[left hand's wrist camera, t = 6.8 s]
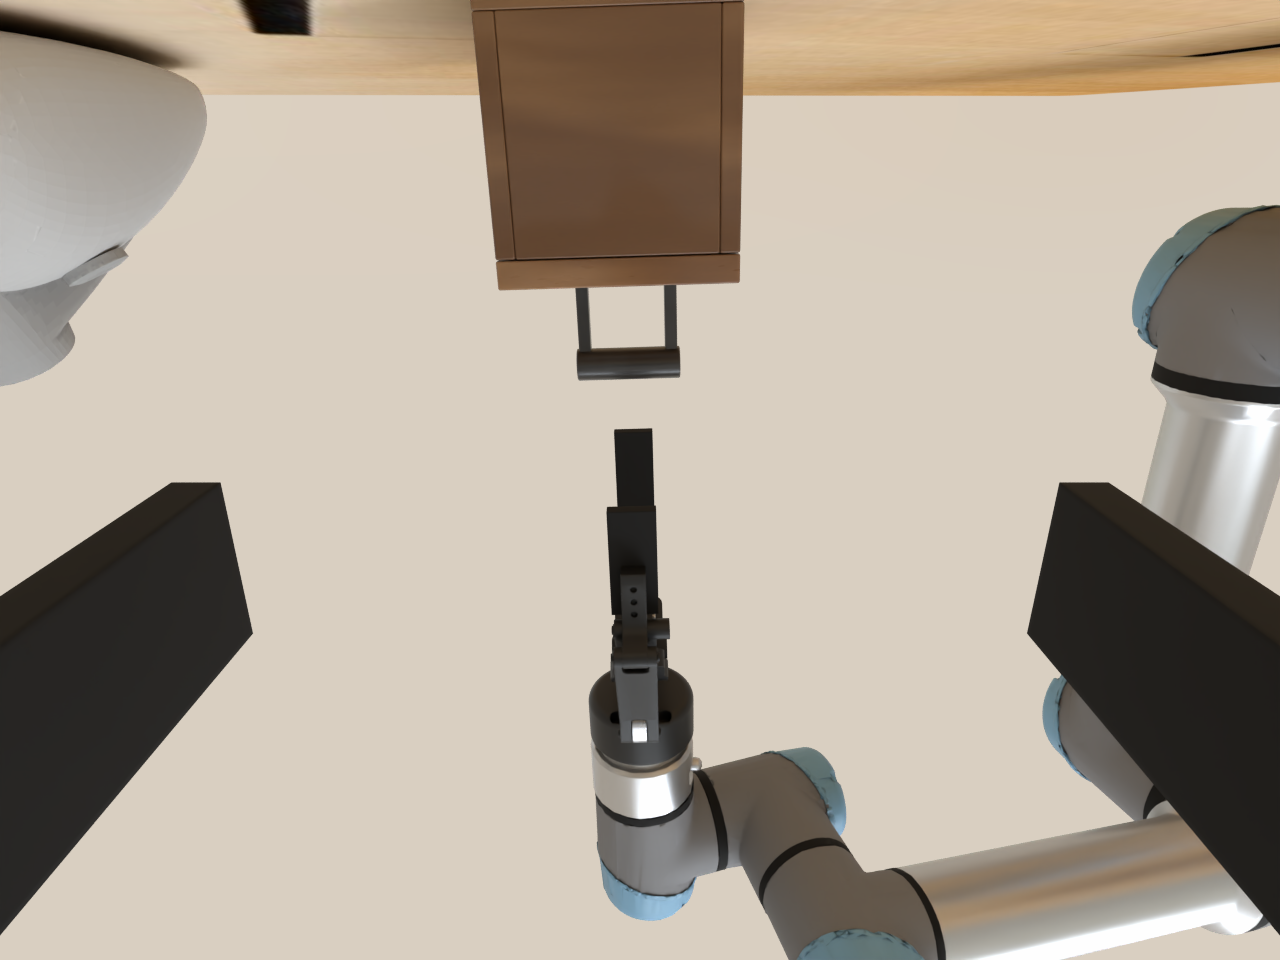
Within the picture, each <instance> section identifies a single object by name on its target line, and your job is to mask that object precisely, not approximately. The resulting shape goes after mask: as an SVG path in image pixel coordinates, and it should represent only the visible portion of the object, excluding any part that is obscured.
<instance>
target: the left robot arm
mask: <svg viewBox="0 0 1280 960" xmlns="http://www.w3.org/2000/svg"><path fill="white" fill-rule="evenodd" d="M252 634H253V632H252V627H251V622H250V618H249V613H248V608H247V604H246V599H245V594H244V590H243V585H242V580H241V576H240V571H239V567H238V562H237V557H236V553H235V548H234V543H233V539H232V534H231V529H230V525H229V520H228V515H227V511H226V506H225V501H224V497H223V492H222V488H221V483H170V484H169V485H167V486H166V487H164V488H163V489H161V490H160V491H158V492H157V493H155V494H154V495H152V496H151V497H149V498H148V499H146V500H144V501H143V502H142V503H140V504H138V505H137V506H136V507H134V508H132V509H131V510H129V511H128V512H126V513H125V514H123V515H122V516H120V517H119V518H117V519H116V520H114V521H113V522H111V523H110V524H108V525H107V526H105V527H104V528H102V529H101V530H99V531H98V532H96V533H95V534H93V535H92V536H90V537H89V538H87V539H86V540H84V541H83V542H81V543H80V544H78V545H77V546H75V547H74V548H72V549H71V550H69V551H68V552H66V553H65V554H63V555H62V556H60V557H59V558H57V559H56V560H54V561H53V562H51V563H50V564H48V565H47V566H45V567H44V568H42V569H41V570H39V571H38V572H36V573H35V574H33V575H32V576H30V577H29V578H27V579H26V580H24V581H23V582H21V583H20V584H18V585H17V586H15V587H13V588H12V589H10V590H9V591H8V592H6V593H4V594H3V595H2V596H0V935H1V934H2V932H3V931H4V930H5V929H6V928H7V926H8V925H9V924H10V923H11V922H12V920H13V919H14V918H15V917H16V916H17V914H18V913H19V912H20V911H21V910H22V909H23V907H24V906H25V905H26V904H27V902H28V901H29V900H30V899H31V898H32V897H33V895H34V894H35V893H36V892H37V891H38V889H39V888H40V887H41V886H42V885H43V883H44V882H45V881H46V880H47V879H48V877H49V876H50V875H51V874H52V873H53V871H54V870H55V869H56V868H57V867H58V866H59V864H60V863H61V862H62V861H63V860H64V858H65V857H66V856H67V855H68V854H69V852H70V851H71V850H72V849H73V848H74V846H75V845H76V844H77V843H78V842H79V840H80V839H81V838H82V837H83V836H84V834H85V833H86V832H87V831H88V830H89V829H90V827H91V826H92V825H93V824H94V822H95V821H96V820H97V819H98V818H99V817H100V815H101V814H102V813H103V812H104V811H105V809H106V808H107V807H108V806H109V805H110V803H111V802H112V801H113V800H114V799H115V797H116V796H117V795H118V794H119V793H120V792H121V790H122V789H123V788H124V787H125V786H126V784H127V783H128V782H129V781H130V780H131V778H132V777H133V776H134V775H135V774H136V772H137V771H138V770H139V769H140V768H141V766H142V765H143V764H144V763H145V762H146V760H147V759H148V758H149V757H150V756H151V755H152V753H153V752H154V751H155V750H156V749H157V747H158V746H159V745H160V744H161V743H162V741H163V740H164V739H165V738H166V737H167V735H168V734H169V733H170V732H171V731H172V729H173V728H174V727H175V726H176V725H177V723H178V722H179V721H180V720H181V719H182V718H183V716H184V715H185V714H186V713H187V712H188V710H189V709H190V708H191V707H192V706H193V704H194V703H195V702H196V701H197V700H198V698H199V697H200V696H201V695H202V694H203V692H204V691H205V690H206V689H207V688H208V686H209V685H210V684H211V683H212V682H213V680H214V679H215V678H216V677H217V676H218V675H219V673H220V672H221V671H222V670H223V669H224V667H225V666H226V665H227V664H228V663H229V661H230V660H231V659H232V658H233V657H234V655H235V654H236V653H237V652H238V651H239V649H240V648H241V647H242V646H243V645H244V643H245V642H246V641H247V640H248V639H249V637H250V636H251V635H252ZM1027 634H1028V635H1029V636H1030V638H1031V639H1032V640H1033V641H1034V642H1035V643H1036V645H1037V646H1038V647H1039V648H1040V649H1041V651H1042V652H1043V653H1044V654H1045V655H1046V657H1047V658H1048V659H1049V660H1050V661H1051V663H1052V664H1053V665H1054V666H1055V667H1056V669H1057V670H1058V671H1059V672H1060V673H1061V675H1062V676H1063V677H1064V678H1065V679H1066V681H1067V682H1068V683H1069V684H1070V685H1071V686H1072V688H1073V689H1074V690H1075V691H1076V692H1077V694H1078V695H1079V696H1080V697H1081V698H1082V700H1083V701H1084V702H1085V703H1086V704H1087V706H1088V707H1089V708H1090V709H1091V710H1092V712H1093V713H1094V714H1095V715H1096V716H1097V718H1098V719H1099V720H1100V721H1101V722H1102V723H1103V725H1104V726H1105V727H1106V728H1107V729H1108V731H1109V732H1110V733H1111V734H1112V735H1113V737H1114V738H1115V739H1116V740H1117V741H1118V743H1119V744H1120V745H1121V746H1122V747H1123V749H1124V750H1125V751H1126V752H1127V753H1128V755H1129V756H1130V757H1131V758H1132V759H1133V760H1134V762H1135V763H1136V764H1137V765H1138V766H1139V768H1140V769H1141V770H1142V771H1143V772H1144V774H1145V775H1146V776H1147V777H1148V778H1149V780H1150V781H1151V782H1152V783H1153V784H1154V786H1155V787H1156V788H1157V789H1158V790H1159V792H1160V793H1161V794H1162V795H1163V796H1164V797H1165V799H1166V800H1167V801H1168V802H1169V803H1170V805H1171V806H1172V807H1173V808H1174V809H1175V811H1176V812H1177V813H1178V814H1179V815H1180V817H1181V818H1182V819H1183V820H1184V821H1185V823H1186V824H1187V825H1188V826H1189V827H1190V829H1191V830H1192V831H1193V832H1194V833H1195V835H1196V836H1197V837H1198V838H1199V839H1200V840H1201V842H1202V843H1203V844H1204V845H1205V846H1206V848H1207V849H1208V850H1209V851H1210V852H1211V854H1212V855H1213V856H1214V857H1215V858H1216V860H1217V861H1218V862H1219V863H1220V864H1221V866H1222V867H1223V868H1224V869H1225V870H1226V872H1227V873H1228V874H1229V875H1230V876H1231V877H1232V879H1233V880H1234V881H1235V882H1236V883H1237V885H1238V886H1239V887H1240V888H1241V889H1242V891H1243V892H1244V893H1245V894H1246V895H1247V897H1248V898H1249V899H1250V900H1251V901H1252V903H1253V904H1254V905H1255V906H1256V907H1257V909H1258V910H1259V911H1260V912H1261V913H1262V914H1263V916H1264V917H1265V918H1266V919H1267V920H1268V922H1269V923H1270V924H1271V925H1272V926H1273V928H1274V929H1275V930H1276V931H1277V932H1278V934H1279V935H1280V596H1279V595H1277V594H1276V593H1274V592H1273V591H1271V590H1269V589H1268V588H1267V587H1265V586H1263V585H1262V584H1261V583H1259V582H1257V581H1256V580H1254V579H1253V578H1251V577H1250V576H1248V575H1247V574H1245V573H1244V572H1242V571H1241V570H1239V569H1238V568H1236V567H1235V566H1233V565H1232V564H1230V563H1229V562H1227V561H1226V560H1224V559H1223V558H1221V557H1220V556H1218V555H1217V554H1215V553H1214V552H1212V551H1211V550H1209V549H1208V548H1206V547H1205V546H1203V545H1202V544H1200V543H1199V542H1197V541H1196V540H1194V539H1193V538H1191V537H1190V536H1188V535H1187V534H1185V533H1184V532H1182V531H1181V530H1179V529H1178V528H1176V527H1175V526H1173V525H1172V524H1170V523H1169V522H1167V521H1166V520H1164V519H1163V518H1161V517H1160V516H1158V515H1157V514H1155V513H1154V512H1152V511H1151V510H1149V509H1148V508H1146V507H1145V506H1143V505H1142V504H1140V503H1139V502H1137V501H1136V500H1134V499H1132V498H1131V497H1130V496H1128V495H1127V494H1125V493H1123V492H1122V491H1120V490H1119V489H1117V488H1116V487H1114V486H1113V485H1111V484H1110V483H1059V487H1058V492H1057V497H1056V501H1055V506H1054V511H1053V515H1052V520H1051V525H1050V529H1049V534H1048V539H1047V543H1046V548H1045V553H1044V557H1043V562H1042V567H1041V571H1040V576H1039V580H1038V585H1037V590H1036V594H1035V599H1034V604H1033V608H1032V613H1031V618H1030V622H1029V627H1028V632H1027Z"/></svg>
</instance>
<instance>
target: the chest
mask: <svg viewBox="0 0 1280 960" xmlns="http://www.w3.org/2000/svg"><path fill="white" fill-rule="evenodd" d="M743 1H744V0H470V2H471V9H472V11H473V12H472V22H473V32H474V42H475V53H476V63H477V73H478V83H479V94H480V104H481V114H482V124H483V135H484V145H485V155H486V165H487V176H488V186H489V196H490V206H491V217H492V227H493V237H494V247H495V258H496V260H514V259H517V260H523V259H555V258H586V257H618V256H649V255H681V254H712V253H719V252H720V253H738V252H740V229H741V172H742V114H743V57H744V2H743Z"/></svg>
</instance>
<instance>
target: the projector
mask: <svg viewBox="0 0 1280 960" xmlns="http://www.w3.org/2000/svg"><path fill="white" fill-rule="evenodd" d="M206 122H207V114H206V106H205V102H204V99H203V96H202V94H201V92H200V90H199V89H198V87H197V86H196V85H195V84H194V83H192V82H191V81H189V80H187V79H186V78H184V77H181V76H179V75H177V74H175V73H173V72H171V71H168V70H166V69H163V68H160V67H158V66H155V65H152V64H149V63H146V62H142V61H139V60H136V59H133V58H130V57H126V56H122V55H119V54H115V53H111V52H107V51H103V50H99V49H94V48H89V47H85V46H80V45H76V44H71V43H67V42H62V41H57V40H51V39H46V38H40V37H34V36H28V35H23V34H17V33H11V32H4V31H0V386H4V385H10V384H15V383H18V382H21V381H25V380H28V379H30V378H33V377H35V376H37V375H40V374H42V373H44V372H46V371H47V370H49V369H51V368H52V367H54V366H55V365H56V364H58V363H59V362H60V361H62V360H63V359H64V358H65V357H66V356H67V355H68V354H69V352H70V351H71V349H72V348H73V346H74V342H75V336H74V333H73V331H72V329H71V326H70V324H69V322H68V321H69V320H70V319H71V317H72V316H73V315H74V314H75V313H76V311H77V310H78V309H79V308H80V307H81V305H82V304H83V303H84V302H85V301H86V299H87V298H88V297H89V296H90V294H91V293H92V292H93V291H94V290H95V288H96V287H97V286H98V284H99V283H100V282H101V280H102V279H103V278H104V276H105V275H106V274H107V272H108V271H110V270H112V269H113V268H115V267H117V266H118V265H120V264H121V263H122V262H123V261H124V260H125V259H126V258H127V257H128V255H127V254H126V252H125V251H124V249H125V248H126V246H127V245H128V244H129V242H130V241H131V239H132V238H133V237H134V236H135V235H136V234H137V233H138V232H139V231H140V230H141V229H143V228H144V227H145V226H146V225H147V224H148V223H149V222H150V221H151V220H152V219H153V218H154V217H155V216H156V215H157V214H158V212H159V211H160V210H161V209H162V208H163V206H164V205H165V204H166V203H167V201H168V200H169V199H170V198H171V197H172V195H173V194H174V192H175V191H176V189H177V188H178V187H179V185H180V184H181V182H182V181H183V179H184V177H185V175H186V174H187V172H188V170H189V169H190V167H191V165H192V163H193V161H194V159H195V157H196V155H197V153H198V150H199V148H200V145H201V143H202V140H203V137H204V134H205V129H206Z"/></svg>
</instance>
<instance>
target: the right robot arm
mask: <svg viewBox="0 0 1280 960" xmlns="http://www.w3.org/2000/svg"><path fill="white" fill-rule="evenodd" d="M1132 318H1133V323H1134V325H1135V326H1136V327H1138V328H1139V329H1138V335H1139V336H1140V337H1141V339H1142V340H1144V341H1145V342H1146V343H1148V344H1149V345H1150V346H1151V347H1152V348H1154V349H1157V353H1156V358H1155V362H1154V366H1153V370H1152V375H1151V381H1152V383H1153V384H1154V385H1155V387H1156V388H1157V389H1158V390H1159V391H1160V393H1161V394H1162V395H1163V396H1164V397H1165V399H1166V402H1167V404H1166V407H1165V411H1164V415H1163V419H1162V423H1161V427H1160V431H1159V435H1158V439H1157V443H1156V447H1155V451H1154V455H1153V459H1152V463H1151V467H1150V471H1149V475H1148V479H1147V483H1146V487H1145V491H1144V495H1143V499H1142V503H1141V504H1142V505H1143V506H1145V507H1146V508H1148V509H1149V510H1151V511H1152V512H1154V513H1155V514H1157V515H1158V516H1160V517H1161V518H1163V519H1164V520H1166V521H1167V522H1169V523H1170V524H1172V525H1173V526H1175V527H1176V528H1178V529H1179V530H1181V531H1182V532H1184V533H1185V534H1187V535H1188V536H1190V537H1191V538H1193V539H1194V540H1196V541H1197V542H1199V543H1200V544H1202V545H1203V546H1205V547H1206V548H1208V549H1209V550H1211V551H1212V552H1214V553H1215V554H1217V555H1218V556H1220V557H1221V558H1223V559H1224V560H1226V561H1227V562H1229V563H1230V564H1232V565H1233V566H1235V567H1236V568H1238V569H1239V570H1241V571H1242V572H1244V573H1245V574H1247V575H1248V576H1249V572H1250V569H1251V566H1252V563H1253V560H1254V557H1255V554H1256V550H1257V547H1258V544H1259V541H1260V538H1261V535H1262V531H1263V528H1264V525H1265V522H1266V519H1267V516H1268V513H1269V510H1270V506H1271V503H1272V500H1273V497H1274V494H1275V491H1276V488H1277V484H1278V481H1279V478H1280V205H1272V206H1264V205H1262V206H1258V207H1254V208H1225V209H1219V210H1215V211H1212V212H1209V213H1206V214H1203V215H1201V216H1199V217H1197V218H1195V219H1193V220H1191V221H1190V222H1188V223H1187V224H1185V225H1184V226H1183V227H1181V228H1180V229H1179V230H1178V231H1177V232H1176V234H1175V235H1174V237H1172V238H1169V239H1167V240H1166V241H1165V242H1164V243H1163V244H1162V245H1161V246H1160V248H1159V249H1158V250H1157V251H1156V253H1155V254H1154V255H1153V257H1152V258H1151V259H1150V261H1149V263H1148V264H1147V266H1146V268H1145V269H1144V271H1143V273H1142V276H1141V278H1140V280H1139V282H1138V285H1137V287H1136V291H1135V295H1134V299H1133V305H1132ZM614 439H615V461H616V483H617V505H618V507H607V530H608V550H609V570H610V589H611V608H612V615H615V620H614V624H613V626H612V635H613V638H612V654H611V670H610V671H609V672H607V673H605V674H604V675H603V676H601V677H600V678H599V679H598V680H597V681H596V682H595V684H594V685H593V687H592V689H591V691H590V695H589V712H590V727H591V736H592V741H591V753H592V768H593V783H594V789H595V795H596V811H597V833H598V842H597V850H598V853H599V857H600V862H601V870H602V877H603V885H604V889H605V891H606V893H607V895H608V897H609V899H610V900H611V902H612V903H613V904H614V905H615V906H616V907H617V908H618V909H619V910H620V911H621V912H623V913H624V914H626V915H628V916H630V917H633V918H635V919H640V920H648V921H654V920H661V919H664V918H667V917H669V916H672V915H673V914H675V912H677V911H678V910H679V909H680V908H681V907H682V906H683V905H684V904H686V903H687V902H688V900H689V899H690V897H691V894H692V891H693V888H694V883H695V880H696V877H697V876H701V875H705V874H709V873H713V872H716V871H720V870H724V869H726V868H731V867H737V866H743V868H744V870H745V872H746V874H747V876H748V878H749V880H750V882H751V884H752V886H753V888H754V890H755V892H756V894H757V896H758V898H759V900H760V902H761V904H762V906H763V908H764V910H765V912H766V913H767V915H768V916H769V919H770V921H771V923H772V925H773V927H774V929H775V931H776V933H777V936H778V938H779V940H780V942H781V944H782V946H783V948H784V951H785V953H786V955H787V957H788V959H789V960H1063V959H1067V958H1071V957H1076V956H1080V955H1084V954H1088V953H1092V952H1096V951H1100V950H1104V949H1108V948H1113V947H1117V946H1121V945H1125V944H1129V943H1133V942H1137V941H1141V940H1145V939H1150V938H1154V937H1158V936H1162V935H1166V934H1170V933H1174V932H1178V931H1182V930H1187V929H1191V928H1195V927H1199V926H1201V927H1203V928H1205V929H1207V930H1209V931H1212V932H1215V933H1219V934H1224V935H1236V934H1241V933H1246V932H1249V931H1254V930H1257V929H1260V928H1264V927H1267V926H1269V925H1271V924H1270V923H1269V922H1268V920H1267V919H1266V918H1265V917H1264V916H1263V914H1262V913H1261V912H1260V911H1259V910H1258V909H1257V907H1256V906H1255V905H1254V904H1253V903H1252V901H1251V900H1250V899H1249V898H1248V897H1247V895H1246V894H1245V893H1244V892H1243V891H1242V889H1241V888H1240V887H1239V886H1238V885H1237V883H1236V882H1235V881H1234V880H1233V879H1232V877H1231V876H1230V875H1229V874H1228V873H1227V872H1226V870H1225V869H1224V868H1223V867H1222V866H1221V864H1220V863H1219V862H1218V861H1217V860H1216V858H1215V857H1214V856H1213V855H1212V854H1211V852H1210V851H1209V850H1208V849H1207V848H1206V846H1205V845H1204V844H1203V843H1202V842H1201V840H1200V839H1199V838H1198V837H1197V836H1196V835H1195V833H1194V832H1193V831H1192V830H1191V829H1190V827H1189V826H1188V825H1187V824H1186V823H1185V821H1184V820H1183V819H1182V818H1181V817H1180V815H1179V814H1178V813H1177V812H1176V811H1175V809H1174V808H1173V807H1172V806H1171V805H1170V803H1169V802H1168V801H1167V800H1166V799H1165V797H1164V796H1163V795H1162V794H1161V793H1160V792H1159V790H1158V789H1157V788H1156V787H1155V786H1154V784H1153V783H1152V782H1151V781H1150V780H1149V778H1148V777H1147V776H1146V775H1145V774H1144V772H1143V771H1142V770H1141V769H1140V768H1139V766H1138V765H1137V764H1136V763H1135V762H1134V760H1133V759H1132V758H1131V757H1130V756H1129V755H1128V753H1127V752H1126V751H1125V750H1124V749H1123V747H1122V746H1121V745H1120V744H1119V743H1118V741H1117V740H1116V739H1115V738H1114V737H1113V735H1112V734H1111V733H1110V732H1109V731H1108V729H1107V728H1106V727H1105V726H1104V725H1103V723H1102V722H1101V721H1100V720H1099V719H1098V718H1097V716H1096V715H1095V714H1094V713H1093V712H1092V710H1091V709H1090V708H1089V707H1088V706H1087V704H1086V703H1085V702H1084V701H1083V700H1082V698H1081V697H1080V696H1079V695H1078V694H1077V692H1076V691H1075V690H1074V689H1073V688H1072V686H1071V685H1070V684H1069V683H1068V682H1067V681H1066V679H1065V678H1064V677H1063V676H1062V675H1061V676H1060V678H1058V679H1057V678H1054V679H1053V681H1052V682H1051V684H1050V686H1049V688H1048V690H1047V693H1046V696H1045V699H1044V704H1043V725H1044V729H1045V732H1046V735H1047V737H1048V739H1049V741H1050V743H1051V744H1052V745H1053V747H1054V748H1055V749H1056V750H1057V751H1058V752H1059V753H1060V754H1061V755H1062V756H1063V757H1064V758H1065V759H1066V761H1067V762H1068V764H1069V765H1070V766H1071V768H1072V769H1073V770H1074V771H1076V772H1077V773H1078V774H1079V775H1080V776H1082V777H1083V778H1085V779H1086V780H1088V781H1090V782H1092V783H1093V784H1094V785H1095V786H1096V787H1098V788H1099V789H1100V790H1101V791H1102V792H1103V793H1104V794H1105V795H1106V796H1108V797H1109V798H1110V799H1111V800H1112V801H1113V802H1114V803H1115V804H1117V805H1118V806H1119V807H1120V808H1121V809H1122V810H1123V811H1124V812H1125V813H1127V814H1128V815H1129V816H1130V817H1131V818H1132V819H1133V820H1134V821H1133V822H1128V823H1123V824H1118V825H1113V826H1108V827H1102V828H1097V829H1092V830H1087V831H1082V832H1077V833H1072V834H1067V835H1062V836H1057V837H1052V838H1047V839H1041V840H1036V841H1031V842H1026V843H1021V844H1016V845H1011V846H1006V847H1001V848H996V849H991V850H985V851H980V852H975V853H970V854H965V855H960V856H955V857H950V858H945V859H940V860H935V861H930V862H924V863H919V864H914V865H909V866H905V867H899V868H891V869H886V870H881V871H875V872H869V873H866V872H864V871H863V870H862V868H861V867H860V865H859V864H858V863H857V861H856V860H855V858H854V857H853V855H852V854H851V852H850V851H849V849H848V848H847V846H846V845H845V843H844V842H843V840H842V838H841V837H840V835H841V834H842V832H843V830H844V828H845V824H846V806H845V800H844V795H843V791H842V788H841V785H840V784H839V783H838V782H837V780H836V777H835V772H834V770H833V768H832V766H831V764H830V763H829V762H828V760H827V759H826V758H825V757H824V756H823V755H822V754H821V753H820V752H818V751H817V750H815V749H812V748H807V747H802V748H796V749H790V750H784V751H777V752H775V751H769V752H764V753H762V754H760V755H757V756H753V757H749V758H745V759H741V760H737V761H733V762H729V763H725V764H721V765H717V766H713V767H709V768H705V769H701V767H702V761H701V760H700V759H699V758H697V757H693V740H692V735H693V692H692V689H691V687H690V685H689V683H688V682H687V680H686V679H685V678H684V677H683V676H682V675H680V674H679V673H678V672H676V671H674V670H672V669H670V668H668V660H667V639H670V626H669V618H662V601H661V600H660V598H658V572H657V532H656V506H654V478H653V440H652V428H648V429H615V430H614ZM700 769H701V770H700Z"/></svg>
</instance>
